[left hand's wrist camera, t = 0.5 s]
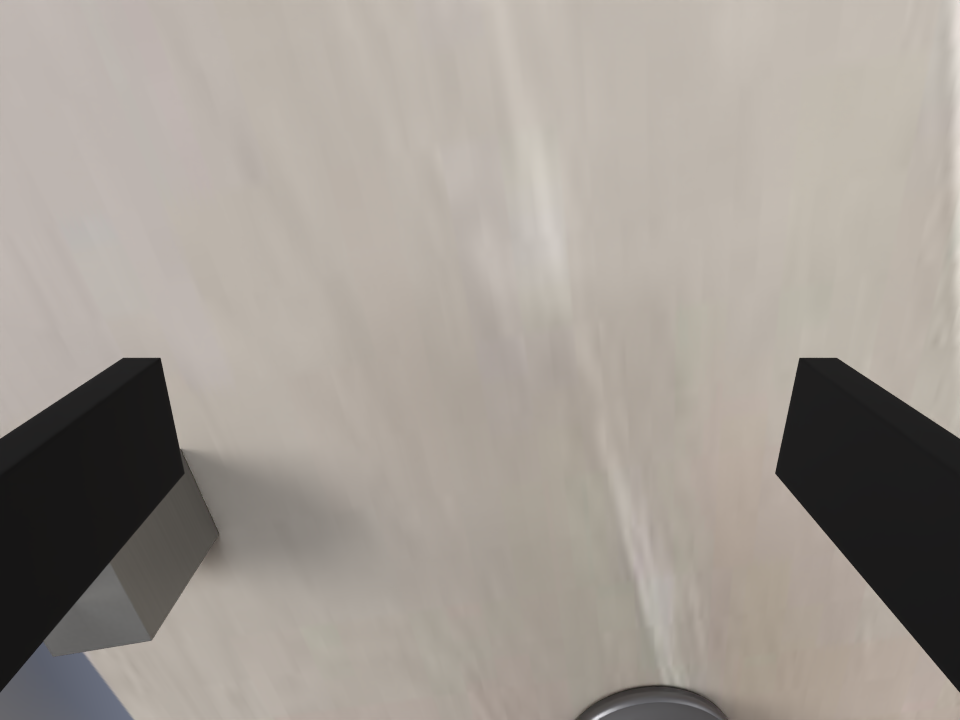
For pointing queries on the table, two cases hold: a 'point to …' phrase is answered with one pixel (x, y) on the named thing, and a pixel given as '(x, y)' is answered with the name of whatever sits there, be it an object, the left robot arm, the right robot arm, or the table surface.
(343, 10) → the table surface
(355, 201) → the table surface
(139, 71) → the table surface
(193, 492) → the brick
